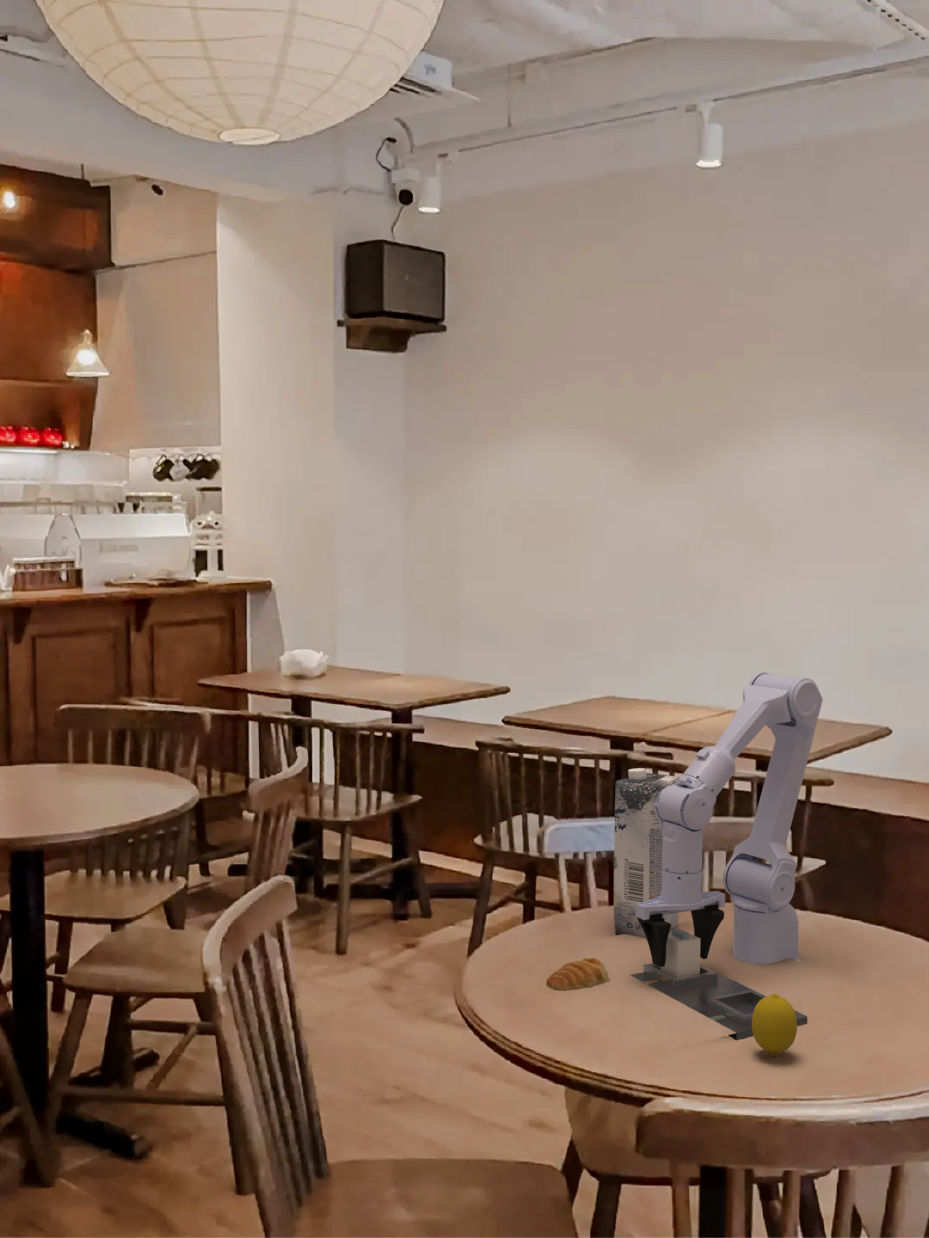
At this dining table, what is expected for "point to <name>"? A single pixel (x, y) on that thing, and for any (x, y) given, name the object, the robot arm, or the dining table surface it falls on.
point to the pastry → (578, 975)
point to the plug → (682, 954)
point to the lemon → (774, 1024)
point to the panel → (711, 997)
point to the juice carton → (637, 848)
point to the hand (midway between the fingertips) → (680, 960)
